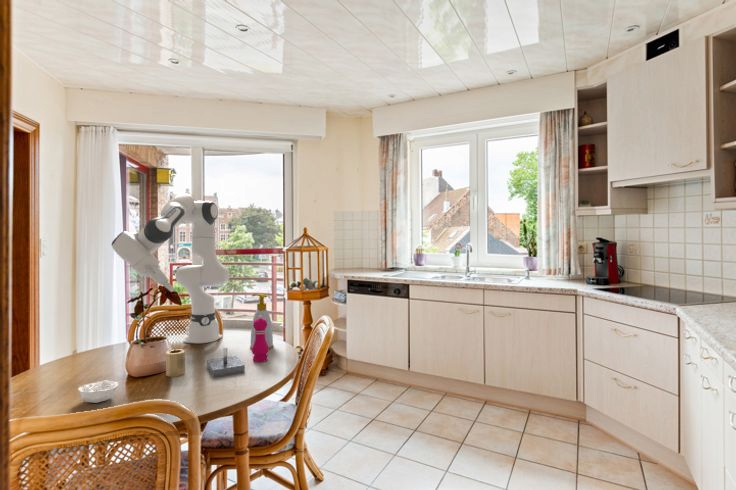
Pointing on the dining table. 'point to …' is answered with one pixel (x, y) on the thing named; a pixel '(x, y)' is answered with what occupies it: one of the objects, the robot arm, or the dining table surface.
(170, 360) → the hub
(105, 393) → the cell model
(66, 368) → the dining table surface
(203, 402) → the dining table surface
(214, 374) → the shaft block
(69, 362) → the dining table surface
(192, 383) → the dining table surface
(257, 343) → the pepper mill
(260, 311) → the soap bottle
